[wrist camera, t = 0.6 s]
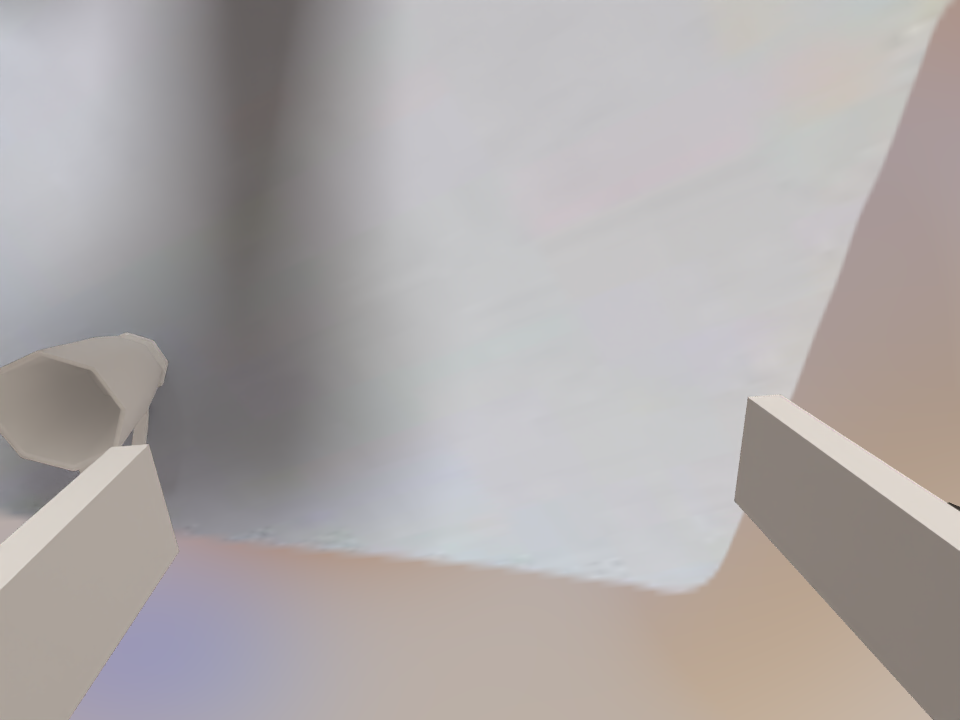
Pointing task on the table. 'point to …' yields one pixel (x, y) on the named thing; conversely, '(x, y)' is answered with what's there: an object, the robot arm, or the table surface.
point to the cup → (80, 398)
